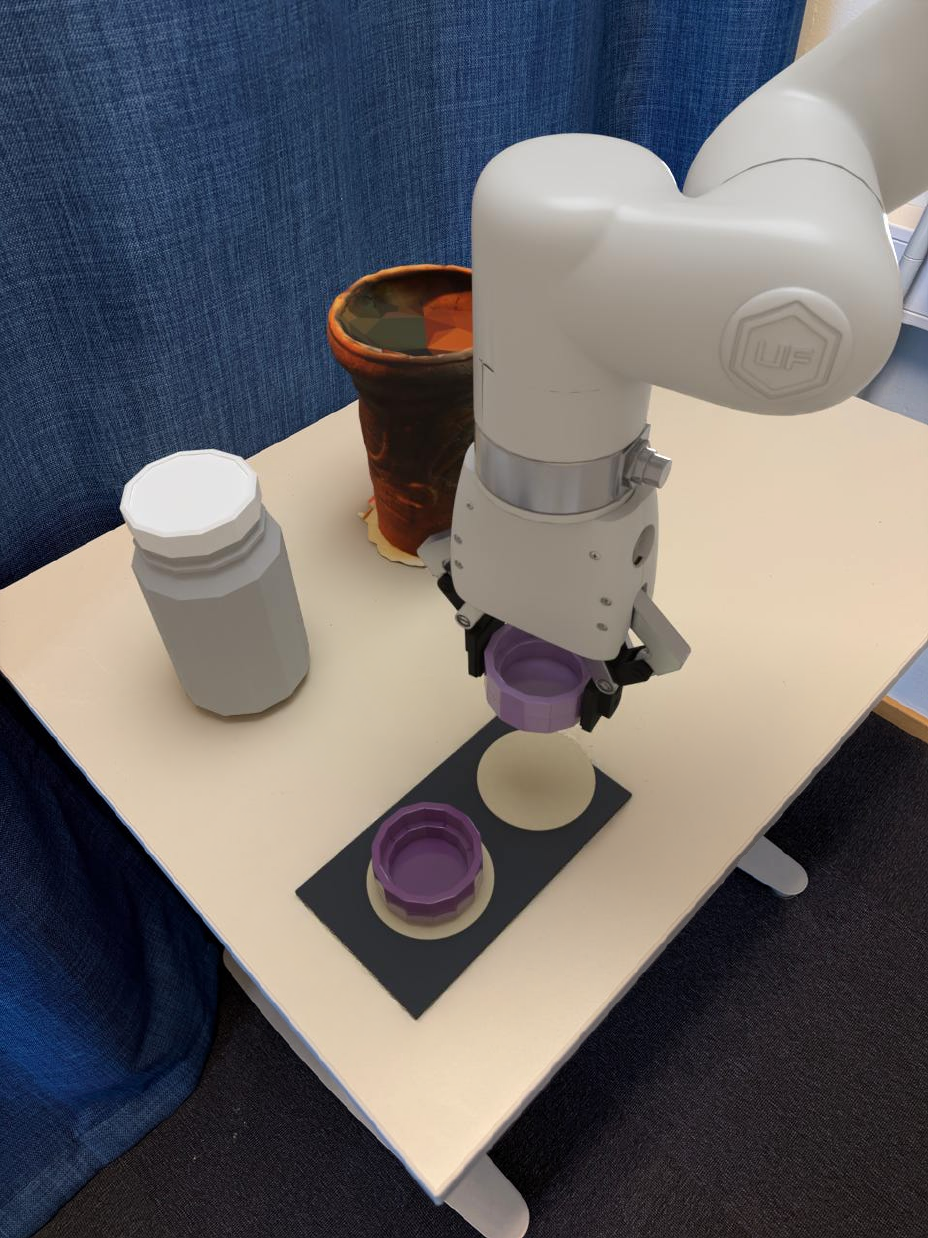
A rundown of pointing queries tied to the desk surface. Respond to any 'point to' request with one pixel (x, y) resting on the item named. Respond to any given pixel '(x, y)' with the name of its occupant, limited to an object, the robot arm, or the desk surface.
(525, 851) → the mat
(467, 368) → the vessel
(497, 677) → the lilac dish
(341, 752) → the desk surface
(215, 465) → the jar
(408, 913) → the plum dish
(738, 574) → the desk surface
